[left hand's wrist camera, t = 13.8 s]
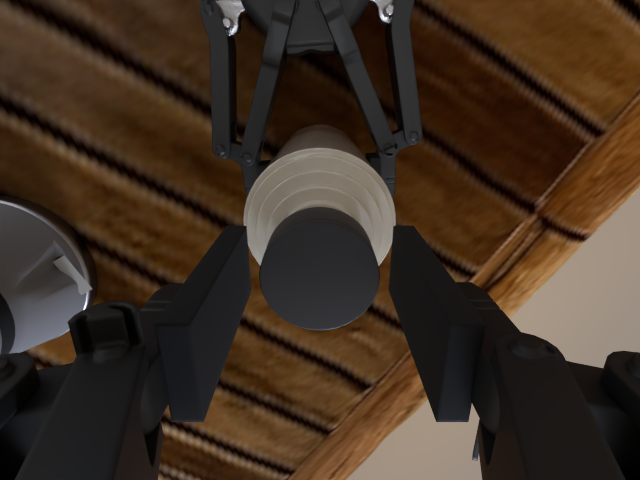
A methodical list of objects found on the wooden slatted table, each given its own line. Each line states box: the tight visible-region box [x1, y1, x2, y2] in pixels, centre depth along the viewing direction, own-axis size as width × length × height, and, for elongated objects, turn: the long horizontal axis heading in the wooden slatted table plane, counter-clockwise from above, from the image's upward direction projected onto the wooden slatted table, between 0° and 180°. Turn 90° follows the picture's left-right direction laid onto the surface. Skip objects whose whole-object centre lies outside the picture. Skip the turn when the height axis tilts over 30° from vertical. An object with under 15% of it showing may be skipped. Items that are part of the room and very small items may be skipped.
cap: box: [259, 207, 380, 330], centre depth 14 cm, size 4×4×2 cm
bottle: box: [244, 125, 396, 266], centre depth 24 cm, size 7×7×22 cm
